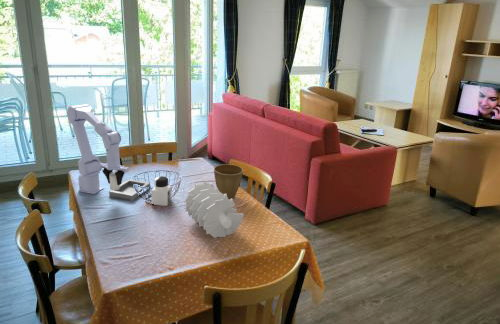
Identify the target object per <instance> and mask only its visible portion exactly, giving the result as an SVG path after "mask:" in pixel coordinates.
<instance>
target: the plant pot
mask: <svg viewBox="0 0 500 324" xmlns="http://www.w3.org/2000/svg"><path fill="white" fill-rule="evenodd" d="M213 173H214V181H215V186H216V187H217V188H218V190H219V191H220V192H221V193H222V194H227V197H228V199H229V200H230V199H233V200H234V199H235V197H236V195H237V192H238V191H239V187H240V184H241V182H242V177H243V173H244V168H243V167H241V166H239V165H237V164H231V163H230V164H227V163H224V164H219V165H218V164H217V165H216V166H214V167H213Z"/></svg>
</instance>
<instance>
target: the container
mask: <svg viewBox="0 0 500 324" xmlns="http://www.w3.org/2000/svg"><path fill="white" fill-rule="evenodd" d="M153 183H154V187H153V188H152V189H150V190H151V191H150V195H151V196H150V197H151V205H152V204H154V205H153V206H163V207H168V205H169V203H170V202H171V200H172V186H171V185H169V178H168V177H166V176H163V175H162V176H157V177H155V178H154V181H153Z"/></svg>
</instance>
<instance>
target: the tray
mask: <svg viewBox="0 0 500 324" xmlns="http://www.w3.org/2000/svg"><path fill="white" fill-rule="evenodd" d="M150 183H151V182H146V181H140V180H134V179H129V178H127V179H126V180H125V181H123V182H121V184H120V189H119V190H111V189H110V190H109V192H108V194H109V198H114V199H119V200H123V201H128V202H129V201H130V202H134V201H135V200H136V199H138V198H139V197H140V196H138V194H137V192H136V191H135V189H134V187H133V184H138V185H140V186H142V187H150V188H151V184H150ZM141 191H142V189H141V188H139V192H141Z"/></svg>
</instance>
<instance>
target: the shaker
mask: <svg viewBox="0 0 500 324" xmlns="http://www.w3.org/2000/svg"><path fill="white" fill-rule="evenodd" d="M115 172H116V171H113V172H110V175H109V178H110V184H109V189H110V191H111V190H119V189H120V185H117V178H116V175H115Z"/></svg>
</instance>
